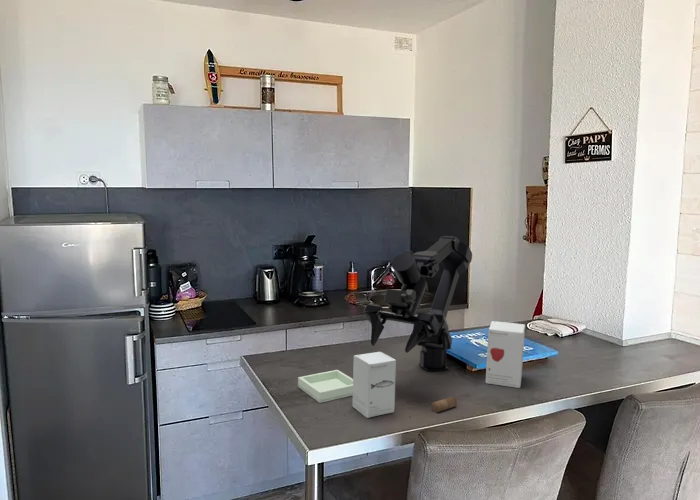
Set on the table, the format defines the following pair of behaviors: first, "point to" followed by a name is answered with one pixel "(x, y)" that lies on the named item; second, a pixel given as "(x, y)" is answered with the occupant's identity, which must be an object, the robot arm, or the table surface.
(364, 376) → the supplement box
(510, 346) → the supplement box
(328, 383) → the dock tray
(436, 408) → the walnut lock pin
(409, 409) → the table surface
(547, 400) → the table surface
